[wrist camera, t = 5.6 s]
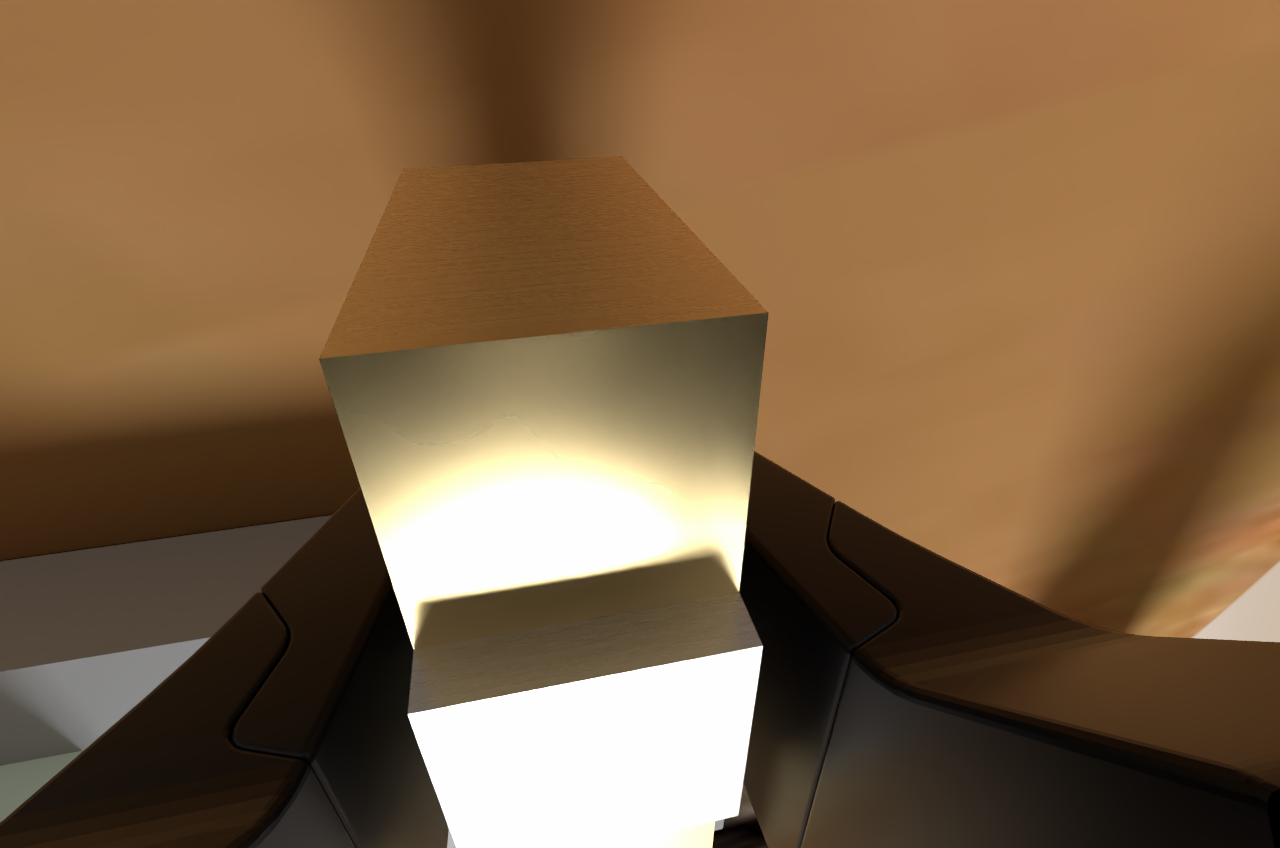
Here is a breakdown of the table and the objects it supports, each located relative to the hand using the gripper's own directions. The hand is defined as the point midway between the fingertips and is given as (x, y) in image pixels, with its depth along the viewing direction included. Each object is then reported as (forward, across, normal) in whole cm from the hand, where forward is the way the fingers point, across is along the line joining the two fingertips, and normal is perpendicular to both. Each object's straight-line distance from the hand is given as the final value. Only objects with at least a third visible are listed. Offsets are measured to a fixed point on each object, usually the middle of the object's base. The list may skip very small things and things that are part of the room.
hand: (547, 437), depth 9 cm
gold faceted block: (0, 0, 0) cm, 0 cm away
